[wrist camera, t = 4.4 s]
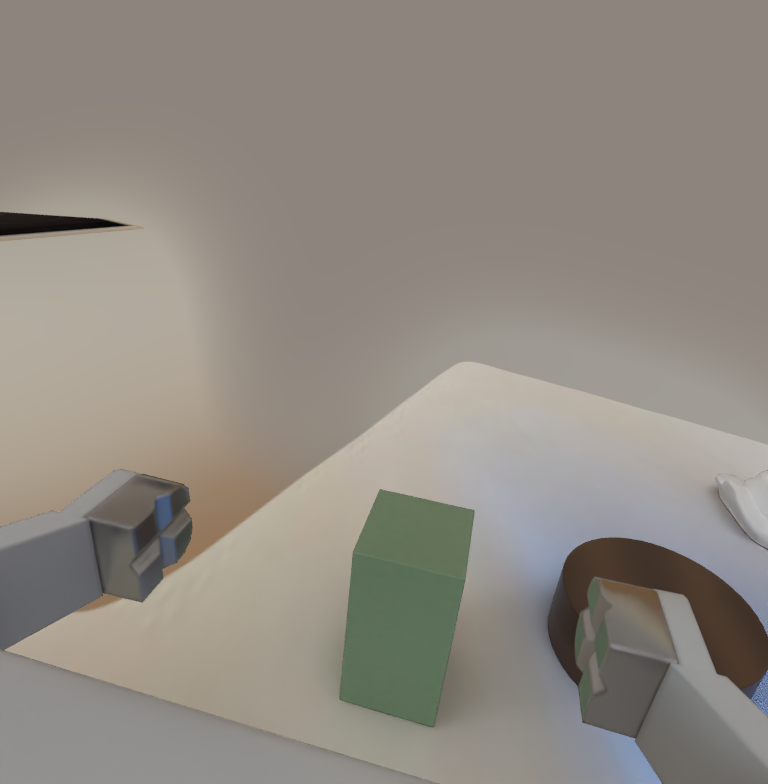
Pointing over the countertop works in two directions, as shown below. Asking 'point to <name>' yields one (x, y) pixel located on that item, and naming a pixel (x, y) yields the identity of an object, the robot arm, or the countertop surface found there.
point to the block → (404, 604)
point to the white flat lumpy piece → (747, 503)
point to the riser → (672, 574)
